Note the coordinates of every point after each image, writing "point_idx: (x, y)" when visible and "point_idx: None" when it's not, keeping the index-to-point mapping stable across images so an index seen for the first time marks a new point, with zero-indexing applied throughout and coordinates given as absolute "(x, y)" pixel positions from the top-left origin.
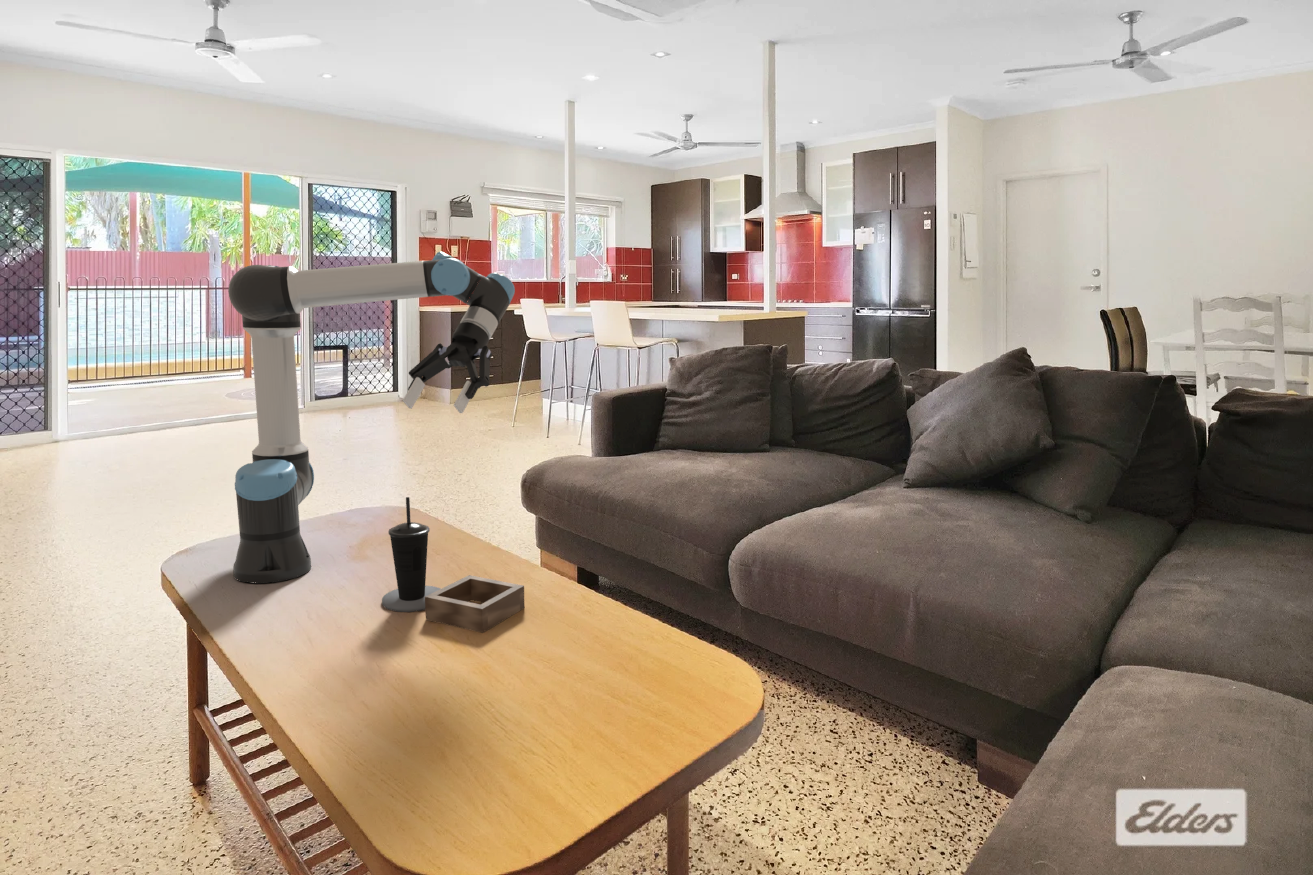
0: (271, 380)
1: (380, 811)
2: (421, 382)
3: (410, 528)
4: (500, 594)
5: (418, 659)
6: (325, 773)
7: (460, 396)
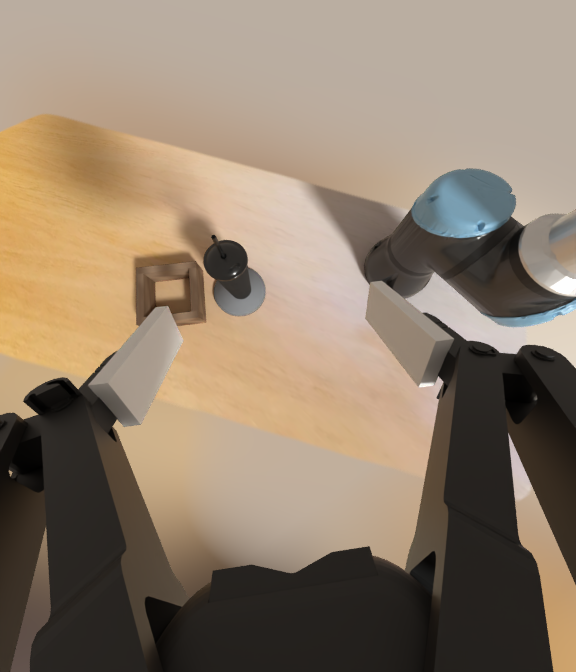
0: None
1: (70, 127)
2: (422, 361)
3: (214, 251)
4: (142, 297)
5: (159, 226)
6: (114, 132)
7: (142, 326)
